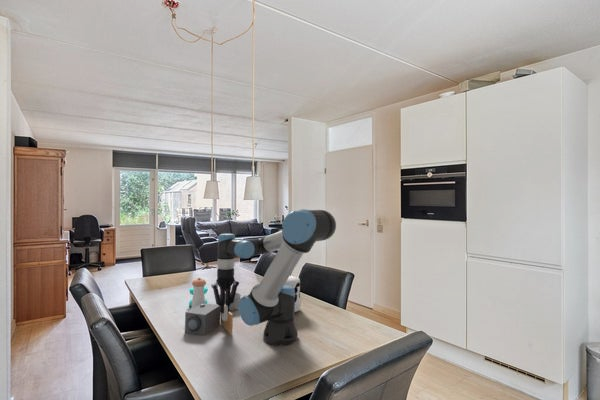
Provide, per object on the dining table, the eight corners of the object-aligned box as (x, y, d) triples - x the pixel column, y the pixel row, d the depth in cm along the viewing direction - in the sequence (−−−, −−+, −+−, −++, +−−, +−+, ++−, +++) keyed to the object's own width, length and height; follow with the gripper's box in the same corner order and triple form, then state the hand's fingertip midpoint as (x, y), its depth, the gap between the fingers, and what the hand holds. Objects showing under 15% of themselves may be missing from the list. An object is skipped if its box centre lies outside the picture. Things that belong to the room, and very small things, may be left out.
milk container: (282, 304, 185) (283, 273, 185) (306, 310, 175) (307, 278, 175) (262, 312, 171) (263, 278, 171) (288, 319, 161) (289, 284, 161)
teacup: (244, 309, 174) (244, 295, 174) (227, 314, 166) (228, 299, 166) (229, 303, 183) (230, 290, 183) (213, 308, 175) (213, 293, 175)
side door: (222, 322, 153) (223, 305, 153) (232, 333, 141) (233, 314, 141) (220, 322, 153) (220, 305, 153) (229, 333, 140) (230, 315, 140)
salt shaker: (193, 311, 168) (194, 276, 169) (207, 312, 168) (208, 276, 168) (188, 316, 161) (189, 279, 161) (202, 317, 161) (203, 279, 161)
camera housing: (220, 323, 153) (220, 303, 153) (202, 337, 137) (202, 314, 137) (201, 321, 155) (202, 301, 155) (182, 334, 140) (182, 312, 140)
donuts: (201, 291, 173) (185, 289, 176) (200, 309, 173) (185, 307, 176) (211, 286, 183) (196, 284, 186) (210, 303, 182) (196, 301, 185)
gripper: (235, 265, 150) (233, 314, 150) (208, 267, 142) (207, 320, 142) (242, 267, 144) (241, 319, 144) (215, 270, 136) (214, 325, 136)
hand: (224, 319), depth 143 cm, fingers closed
